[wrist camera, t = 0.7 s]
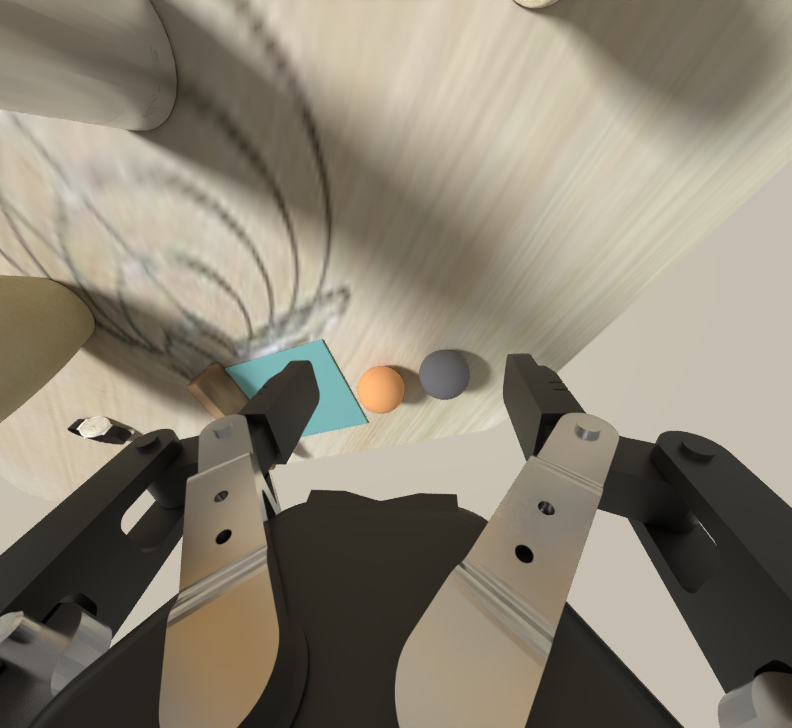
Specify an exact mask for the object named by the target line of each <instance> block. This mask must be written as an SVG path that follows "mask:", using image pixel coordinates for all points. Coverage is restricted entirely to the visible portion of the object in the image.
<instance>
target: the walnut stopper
mask: <svg viewBox="0 0 792 728" xmlns="http://www.w3.org/2000/svg"><path fill="white" fill-rule="evenodd" d="M186 388H187V389H188V390H189V391H190V393H191V394H192V395H193V396H194V397H195V398H196V399H197V400H198V401H199V402H200V403H201V404H202V405H203V406H204V407H205V408H206V409H207V410H208V412H209V413H210V414H211V415H212V416H213V417H214V418H215V419H216V420H217V419H219V418H222V417H225V416H228V415H237V414H238V413H239V412H240V411H241V409H242V408H243V407H244V406H245V405H246V404H247V403H248V402H249V399H248V397H247V396H246V395H245V394H244V392H243V391H242V390H241V389H240V388H239V386H238V385H237V384H236V383H235V381H234V380H233V379H232V378H231V377H230V375H229V374H228V373H227V372H226V370H225V369H224V368H223V367H222V366H221V364H220V363H219V362H218V363H215V364H211V365H209V366H208V367H207V368H206V369H205V370H204V371H203V372H201V373H200V374H199V375H198V376H197V377H196V378H195V379H194V380H193V381H192V382H191V383H190V384H188V385H187V386H186ZM275 466H276V464H272V466H271V468H270V469H269V470H273V469H274V468H275Z"/></svg>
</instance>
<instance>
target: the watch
mask: <svg viewBox="0 0 792 728" xmlns="http://www.w3.org/2000/svg"><path fill="white" fill-rule="evenodd" d="M68 430H69V431H70V432H72V433H74V434H77V435H79V436H82V437H84V438H83V439H86V438H88V439H92V440H96V441H99V442H104V443H111V444H124V443H125V442H126V441H127V439H128V438H129V437H130V435H131V432H130V431H128V430H126V429H123V428H121V427H118V426H114V425H113V424H110V421H109V420H108V419H107V418H105V417H101V416H98V417H93V418H90V419H86V420H84V419H78V420H77V421H76V422H74V423H73V424H72V425H71V426H70V427H69V428H68Z"/></svg>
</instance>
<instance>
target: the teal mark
mask: <svg viewBox="0 0 792 728" xmlns="http://www.w3.org/2000/svg"><path fill="white" fill-rule="evenodd" d="M293 360H309V361H310V362H311V363H312V366H313V369H314V373H315V377H316V380H317V384H318V388H319V392H320V399H319V404H318V406H317V408H316V410H315V411H314V413H313V415H312V417H311V419H310V421H309V422H308V424H307V426H306V428H305V430H304V432H303V434H302V435H301V437H304V436H308V435H313V434H318V433H323V432H327V431H332V430H337V429H342V428H346V427H351V426H356V425H361V424H366V423H368V421H367V420H366V418H365V416H364V414H363V412H362V411H361V409H360V407H359V405H358V403H357V402H356V400H355V398H354V396H353V394H352V393H351V391H350V389H349V387H348V385H347V383H346V382H345V380H344V378H343V376H342V374H341V373H340V371H339V369H338V367H337V365H336V364H335V362H334V360H333V358H332V356H331V355H330V353H329V351H328V349H327V347H326V346H325V344H324V342H323V340H322V339H321V340H318V341H315V342H311V343H308V344H305V345H301V346H298V347H295V348H291V349H288V350H284V351H281V352H278V353H274V354H271V355H268V356H264V357H261V358H258V359H254V360H251V361H247V362H244V363H241V364H237V365H234V366H231V367H227V368H225V370H226V371H227V372H228V374H229V375H230V376H231V377H232V379H233V380H234V381H235V382H236V383H237V385H238V386H239V387H240V388H241V390H242V391H243V392H244V393H245V394H246V396H247V397H248V398H249V399H251V398H252V397H253V396H254V395H256V393H257V392H258V390H259V389H260V388H262V386H263V385H264V384H265V383H266V382H267V380H268V379H270V378H271V377H273V376H274V375H276V374H277V373H279V372H281V371H282V370H283V369H284V368H285V366H286V365H287V364H288V363H289V362H290V361H293Z"/></svg>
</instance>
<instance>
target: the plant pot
mask: <svg viewBox="0 0 792 728" xmlns="http://www.w3.org/2000/svg"><path fill="white" fill-rule="evenodd" d="M94 329H95V321H94V318H93V315H92V313H91V311H90V310H89V308H88V307H87V305H86V304H85V303H84V302H83V301H82V300H81V299H80V298H79V297H78V296H77V295H76V294H74V293H73V292H72V291H71V290H69V289H68V288H66V287H64V286H63V285H61V284H59V283H57V282H54V281H52V280H49V279H45V278H39V277H24V276H2V275H0V423H1V422H2V421H3V420H4V419H6V418H7V417H8V416H9V415H11V414H12V413H13V412H14V411H16V410H17V409H18V408H19V407H20V406H22V405H23V404H24V403H25V402H26V401H27V400H29V399H30V398H31V397H32V396H33V395H34V394H35V393H37V392H38V391H39V390H40V389H41V388H42V387H43V386H44V385H45V384H46V383H48V382H49V381H50V380H51V379H52V378H53V377H54V376H55V375H56V374H57V373H58V372H59V371H60V370H61V369H62V368H63V367H64V366H65V365H66V364H67V363H68V362H69V361H70V359H71V358H72V357H73V356H74V355H75V354H76V353H77V352H78V350H79V349H80V348H81V347H82V346H83V344H84V343H85V342H86V341H87V339H88V338H89V337H90V336H91V334H92V333H93V331H94Z"/></svg>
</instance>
